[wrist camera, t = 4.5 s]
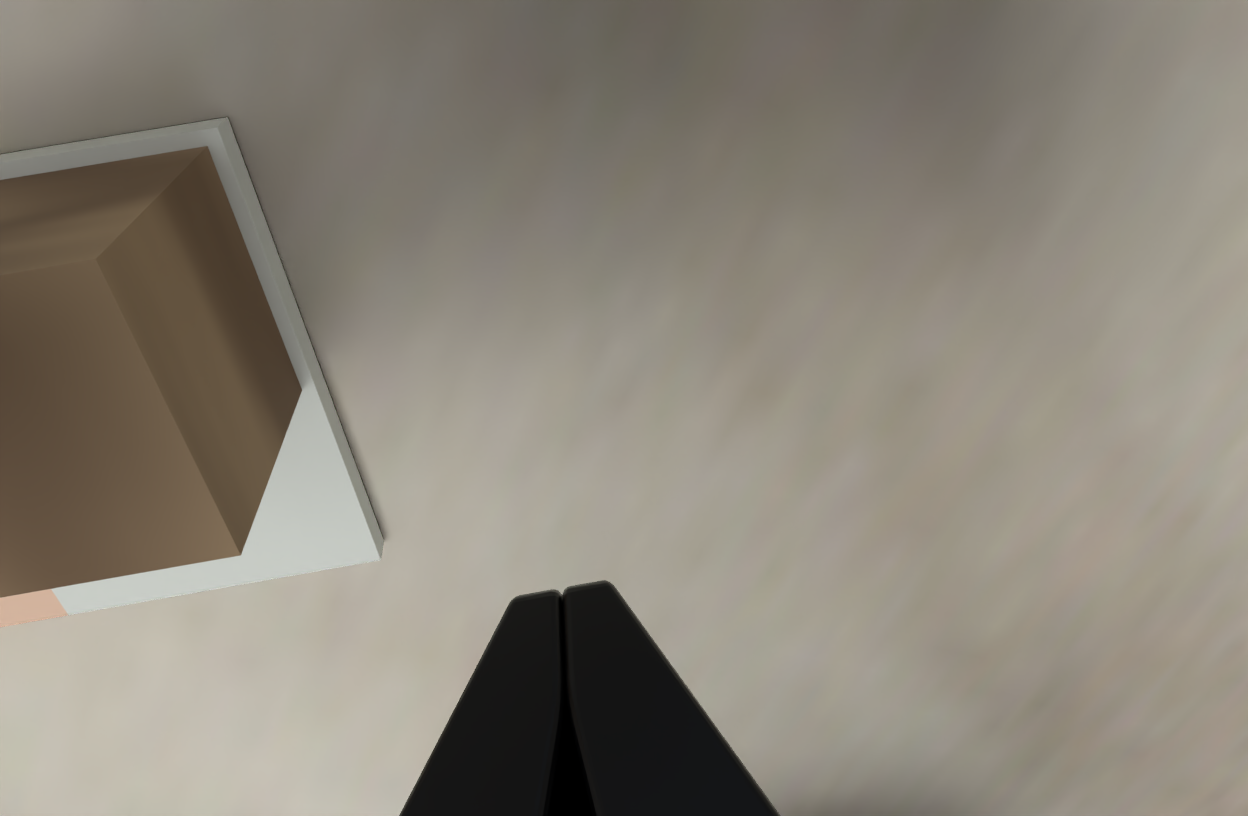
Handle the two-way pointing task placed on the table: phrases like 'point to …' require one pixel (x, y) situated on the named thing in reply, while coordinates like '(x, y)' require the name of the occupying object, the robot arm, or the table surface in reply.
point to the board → (313, 445)
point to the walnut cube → (131, 373)
